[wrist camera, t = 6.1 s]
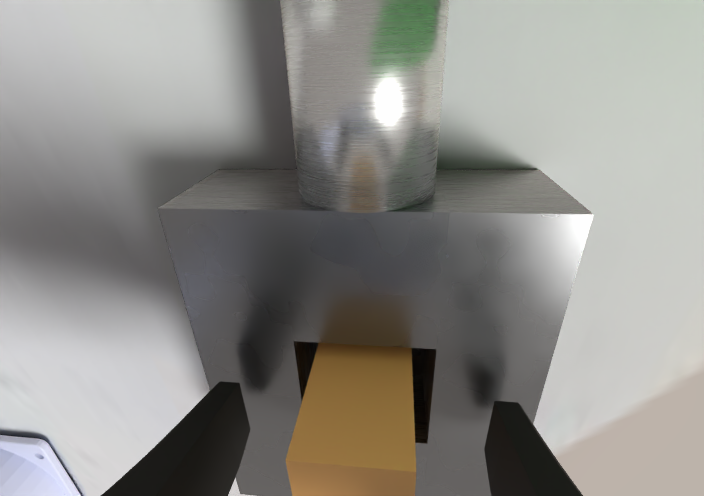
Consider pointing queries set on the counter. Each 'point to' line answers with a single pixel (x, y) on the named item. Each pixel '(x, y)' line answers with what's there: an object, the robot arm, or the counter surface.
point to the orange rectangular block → (355, 424)
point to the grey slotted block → (375, 249)
